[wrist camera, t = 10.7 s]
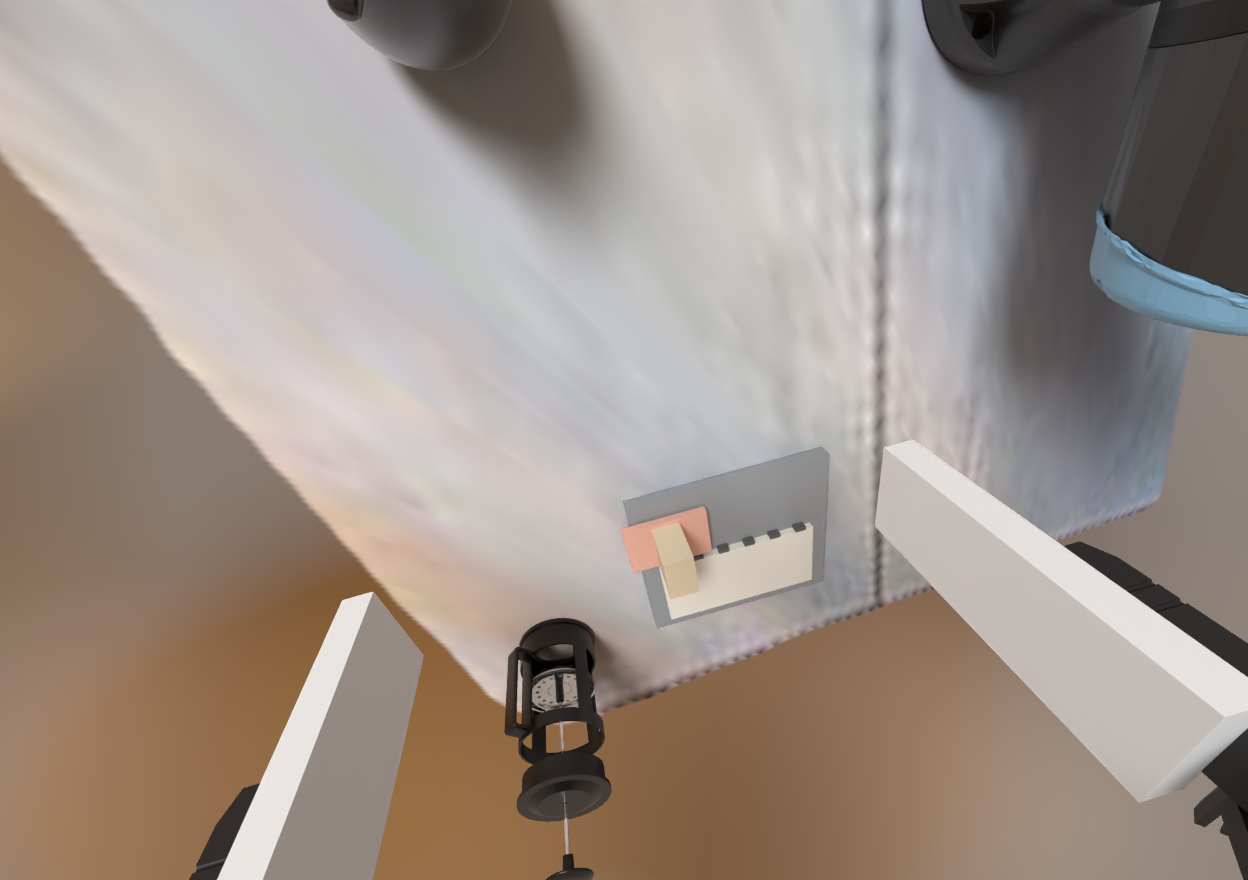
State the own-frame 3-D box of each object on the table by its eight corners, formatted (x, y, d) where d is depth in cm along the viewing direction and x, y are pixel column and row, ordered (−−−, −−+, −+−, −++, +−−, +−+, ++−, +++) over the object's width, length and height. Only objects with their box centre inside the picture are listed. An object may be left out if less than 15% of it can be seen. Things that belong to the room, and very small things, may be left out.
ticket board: (821, 446, 48) (833, 458, 46) (816, 572, 59) (826, 586, 57) (622, 501, 47) (626, 515, 45) (654, 618, 58) (658, 634, 56)
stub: (703, 506, 47) (723, 544, 42) (709, 546, 50) (728, 586, 46) (620, 529, 47) (631, 570, 42) (631, 567, 50) (642, 611, 45)
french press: (612, 632, 58) (652, 865, 39) (570, 674, 61) (587, 910, 42) (534, 604, 53) (535, 855, 34) (492, 650, 56) (470, 907, 36)
